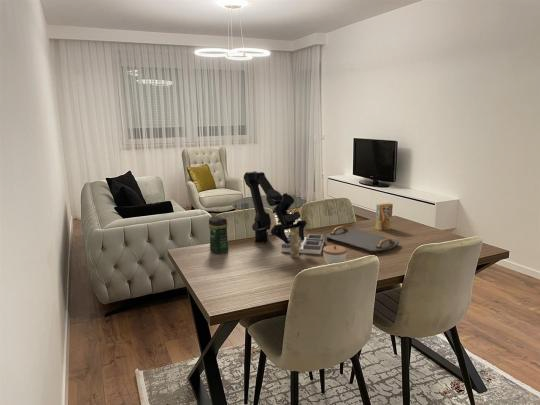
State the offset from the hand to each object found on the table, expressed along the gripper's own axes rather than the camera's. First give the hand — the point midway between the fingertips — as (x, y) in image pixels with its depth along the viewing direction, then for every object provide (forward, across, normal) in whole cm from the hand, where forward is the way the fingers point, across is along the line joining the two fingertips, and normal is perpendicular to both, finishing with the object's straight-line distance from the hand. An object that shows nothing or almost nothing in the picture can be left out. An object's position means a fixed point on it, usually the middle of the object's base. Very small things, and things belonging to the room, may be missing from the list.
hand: (296, 242), depth 203 cm
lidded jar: (+19, +8, -7) cm, 22 cm away
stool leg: (+4, 0, +6) cm, 8 cm away
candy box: (-1, +71, +12) cm, 72 cm away
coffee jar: (-15, -28, +26) cm, 41 cm away
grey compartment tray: (-2, +12, +13) cm, 18 cm away
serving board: (+8, +42, +4) cm, 43 cm away
